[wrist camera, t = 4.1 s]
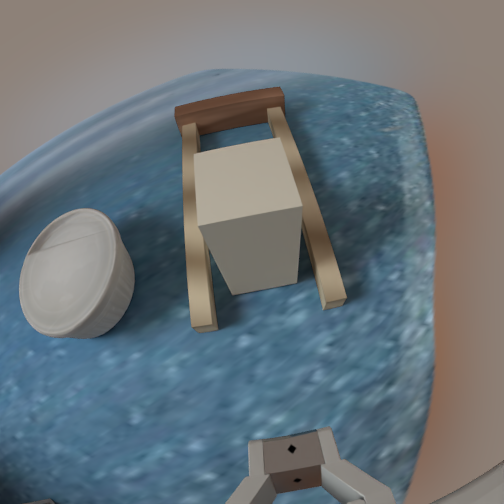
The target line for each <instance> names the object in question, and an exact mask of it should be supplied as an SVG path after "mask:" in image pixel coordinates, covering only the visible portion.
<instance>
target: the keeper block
mask: <svg viewBox="0 0 504 504" xmlns="http://www.w3.org/2000/svg"><path fill="white" fill-rule="evenodd" d="M194 174H195V192H196V208H197V222H198V227H199V230H200V232H201V234H202V236H203V238H204V240H205V242H206V244H207V246H208V248H209V250H210V252H211V254H212V256H213V258H214V260H215V262H216V264H217V266H218V268H219V270H220V272H221V274H222V276H223V278H224V280H225V282H226V284H227V286H228V288H229V290H230V292H231V293H232V295H237V294H242V293H248V292H253V291H258V290H264V289H269V288H274V287H279V286H284V285H289V284H294V283H297V276H298V264H299V251H300V238H301V224H302V208H303V205H302V202H301V199H300V196H299V193H298V190H297V187H296V184H295V181H294V177H293V174H292V171H291V168H290V165H289V163H288V160H287V157H286V154H285V151H284V148H283V145H282V142H281V139H280V137H279V138H272V139H266V140H260V141H255V142H249V143H244V144H239V145H233V146H228V147H224V148H219V149H214V150H209V151H205V152H201V153H196V154H194Z"/></svg>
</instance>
